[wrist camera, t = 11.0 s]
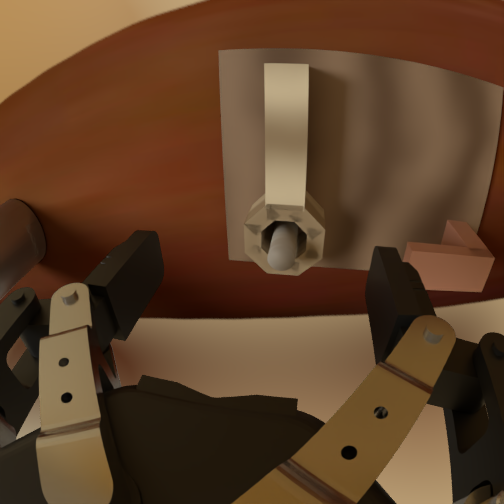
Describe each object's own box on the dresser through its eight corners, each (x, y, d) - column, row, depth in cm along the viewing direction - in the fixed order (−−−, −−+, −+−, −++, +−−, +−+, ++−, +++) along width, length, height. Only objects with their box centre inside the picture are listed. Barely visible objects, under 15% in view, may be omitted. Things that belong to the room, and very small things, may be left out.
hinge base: (231, 253, 29) (212, 299, 24) (222, 51, 20) (191, 44, 14) (459, 270, 26) (483, 315, 20) (497, 86, 16) (543, 96, 11)
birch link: (319, 253, 26) (320, 277, 23) (252, 248, 27) (245, 271, 24) (330, 67, 19) (334, 66, 16) (249, 65, 19) (238, 64, 16)
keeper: (387, 246, 25) (401, 288, 20) (393, 213, 23) (412, 250, 18) (457, 252, 24) (481, 292, 19) (466, 222, 22) (494, 258, 17)
